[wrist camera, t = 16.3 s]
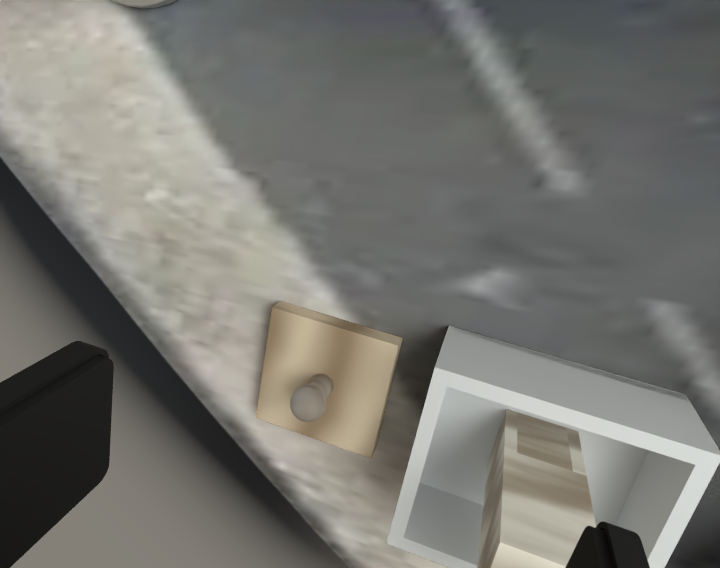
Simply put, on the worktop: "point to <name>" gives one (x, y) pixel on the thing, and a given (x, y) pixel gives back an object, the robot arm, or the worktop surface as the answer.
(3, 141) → the worktop surface
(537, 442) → the strut
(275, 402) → the square lid with knob
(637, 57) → the worktop surface
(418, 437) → the bin
